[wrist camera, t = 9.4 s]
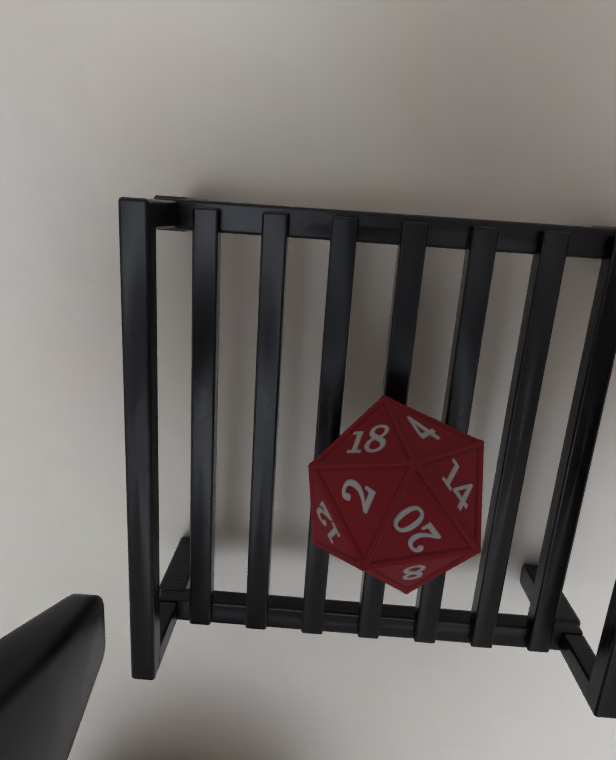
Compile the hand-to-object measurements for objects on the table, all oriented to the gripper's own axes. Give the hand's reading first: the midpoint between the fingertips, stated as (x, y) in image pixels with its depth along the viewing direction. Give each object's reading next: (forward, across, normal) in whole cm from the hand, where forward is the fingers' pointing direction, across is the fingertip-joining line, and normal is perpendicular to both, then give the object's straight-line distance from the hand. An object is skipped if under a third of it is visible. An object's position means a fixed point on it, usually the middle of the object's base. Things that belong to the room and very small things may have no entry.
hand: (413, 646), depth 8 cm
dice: (+7, 0, 0) cm, 7 cm away
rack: (+10, 0, 0) cm, 10 cm away
